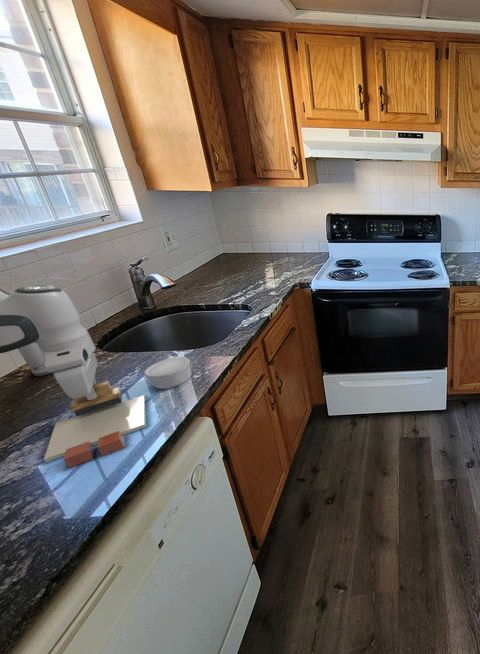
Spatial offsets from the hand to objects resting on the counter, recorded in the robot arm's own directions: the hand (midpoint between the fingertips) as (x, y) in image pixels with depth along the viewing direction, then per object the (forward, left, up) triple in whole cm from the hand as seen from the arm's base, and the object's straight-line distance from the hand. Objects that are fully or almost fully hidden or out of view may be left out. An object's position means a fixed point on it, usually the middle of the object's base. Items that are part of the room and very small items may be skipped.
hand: (93, 395), depth 95 cm
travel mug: (-16, +40, -6) cm, 44 cm away
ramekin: (+16, +6, -6) cm, 18 cm away
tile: (0, -8, -6) cm, 9 cm away
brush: (0, 0, -4) cm, 4 cm away
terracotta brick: (+3, -19, -6) cm, 20 cm away
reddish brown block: (-2, -19, -6) cm, 20 cm away
